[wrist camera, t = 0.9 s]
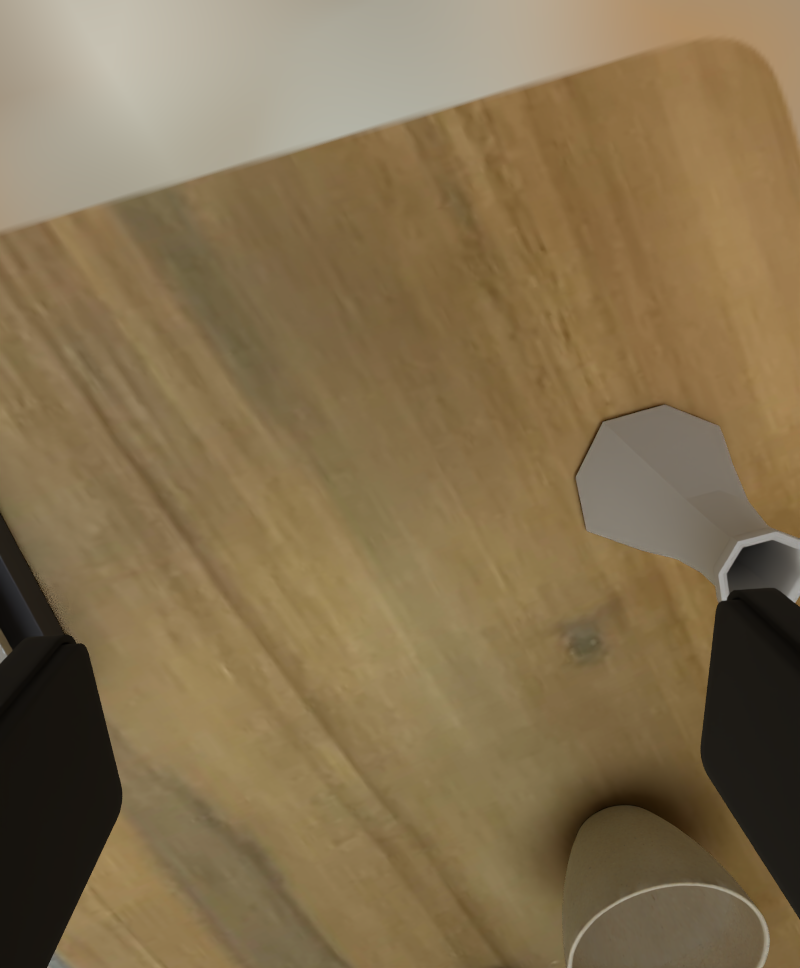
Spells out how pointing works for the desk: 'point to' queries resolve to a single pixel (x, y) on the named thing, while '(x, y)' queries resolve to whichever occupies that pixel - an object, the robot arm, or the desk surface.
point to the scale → (21, 596)
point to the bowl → (654, 900)
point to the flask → (682, 501)
